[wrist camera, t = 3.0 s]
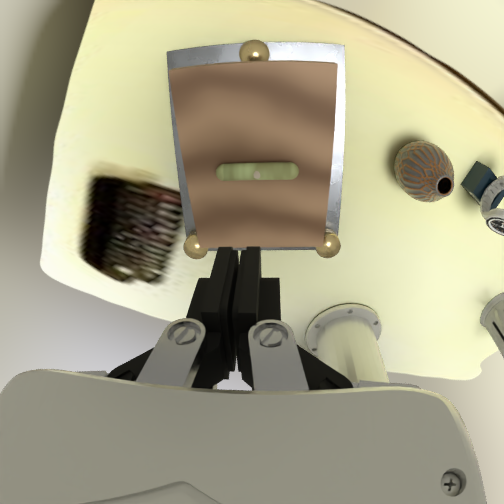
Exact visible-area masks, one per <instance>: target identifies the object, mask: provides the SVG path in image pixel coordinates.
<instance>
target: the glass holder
mask: <svg viewBox="0 0 504 504" xmlns="http://www.w3.org/2000/svg"><path fill="white" fill-rule="evenodd" d="M480 323H481V324H482V326H484V327H486V329H487V330H488V332H489V333H490V335H491V337H492V338H493V340H494V342H495V343H496V345H497V347H498V349H499V350H500V352H501V354H502V356H503V358H504V293H501V294H499V295H497V296H496V297H494V298H493V299H492V300H491V301H490V302H489V303H488V304H487V305H486V307H485V308H484V310H483V311H482V314H481V317H480Z"/></svg>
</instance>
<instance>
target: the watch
mask: <svg viewBox="0 0 504 504" xmlns="http://www.w3.org/2000/svg"><path fill="white" fill-rule="evenodd" d="M461 185H462V186H463V187H464V188H465V189H466V191H467V192H468V193H469V194H470V195H471V196H472V197H473V198H474V199H475V200H476V202H477V203H478V204H479V205H480V210H481V214H482V216H483V217H484V219H485V220H486V224H487V226H488V227H489V228H490V229H491V230H492V231H494V232H496V233H498V234H500V235H503V236H504V209H499V208H496V207H497V206H498V204H499V203H500V202H501V200H502V199H503V197H504V176H500V177H498V178H497V177H496V176H495V175H494V173H493V172H492V171H491V169H490V168H489V167H487V166H485V165H483V164H481V163H479V162H478V161H476V163H475V164H474V166H473V167H472V169H471V170H470V172H469V173H468V175H467V176H466V178H465V179H464V180H463V182H462V183H461Z"/></svg>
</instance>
